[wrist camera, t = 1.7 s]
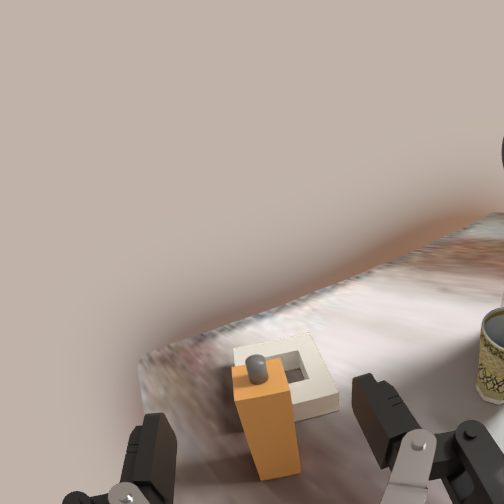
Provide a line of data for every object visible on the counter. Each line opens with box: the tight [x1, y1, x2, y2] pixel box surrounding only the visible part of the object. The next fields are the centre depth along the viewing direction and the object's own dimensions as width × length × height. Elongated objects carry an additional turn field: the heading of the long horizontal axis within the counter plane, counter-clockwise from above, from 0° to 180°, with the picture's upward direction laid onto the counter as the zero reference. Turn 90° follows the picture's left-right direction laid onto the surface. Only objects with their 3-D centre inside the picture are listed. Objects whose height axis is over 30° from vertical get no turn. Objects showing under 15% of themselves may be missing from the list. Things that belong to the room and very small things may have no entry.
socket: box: [233, 332, 339, 422], centre depth 41 cm, size 14×12×4 cm
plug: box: [232, 354, 301, 481], centre depth 27 cm, size 4×4×16 cm
